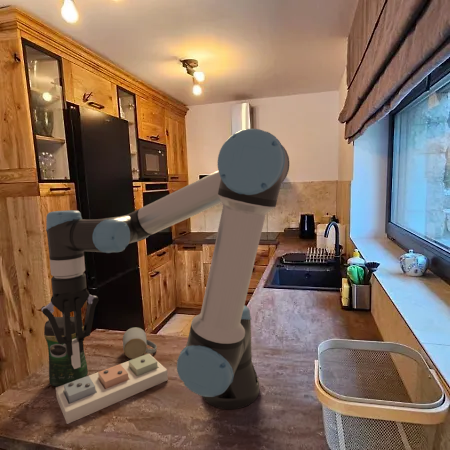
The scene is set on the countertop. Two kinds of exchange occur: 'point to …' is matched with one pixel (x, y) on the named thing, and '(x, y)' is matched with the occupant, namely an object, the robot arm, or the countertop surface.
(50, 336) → the coffee jar
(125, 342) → the ceramic mug
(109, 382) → the two-pip button
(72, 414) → the button panel
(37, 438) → the countertop surface
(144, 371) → the one-pip button
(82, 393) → the three-pip button
